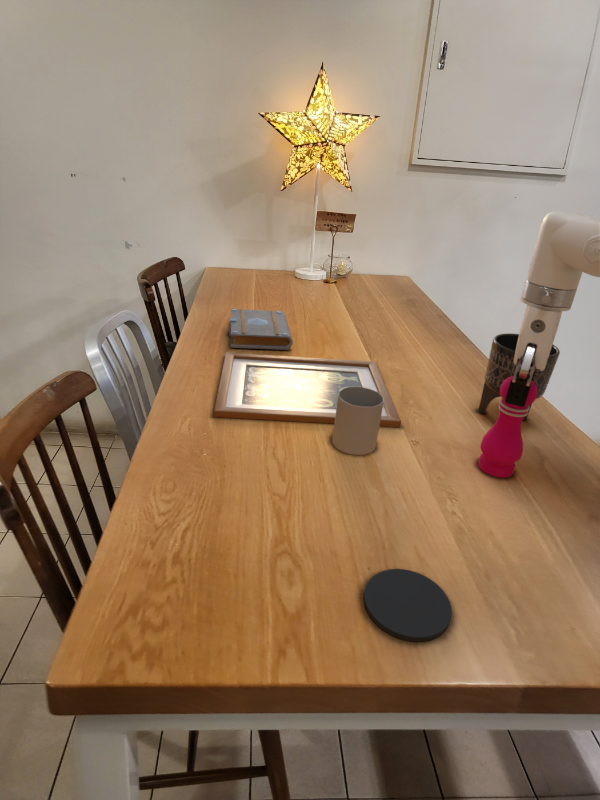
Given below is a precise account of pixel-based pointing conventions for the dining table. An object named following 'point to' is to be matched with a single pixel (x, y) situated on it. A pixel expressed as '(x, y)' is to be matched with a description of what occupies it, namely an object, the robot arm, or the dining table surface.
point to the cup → (357, 420)
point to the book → (259, 329)
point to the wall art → (294, 388)
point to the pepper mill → (505, 435)
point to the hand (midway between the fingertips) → (517, 396)
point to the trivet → (407, 605)
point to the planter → (511, 369)
